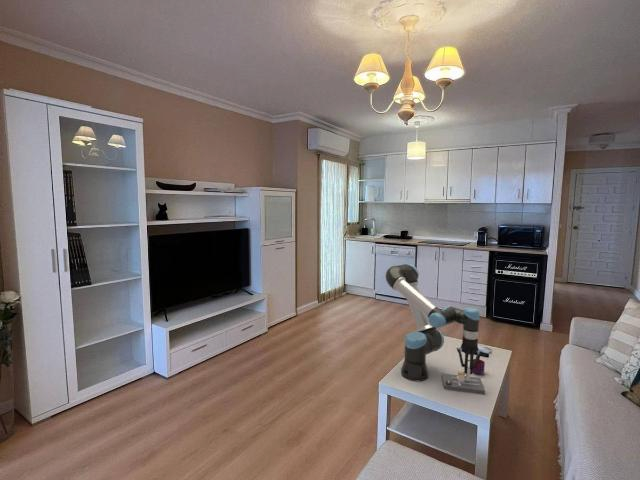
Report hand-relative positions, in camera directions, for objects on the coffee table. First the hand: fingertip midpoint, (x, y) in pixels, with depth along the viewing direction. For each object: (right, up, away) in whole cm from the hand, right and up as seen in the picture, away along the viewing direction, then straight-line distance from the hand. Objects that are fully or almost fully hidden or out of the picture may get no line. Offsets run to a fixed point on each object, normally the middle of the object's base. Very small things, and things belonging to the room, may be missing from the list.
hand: (467, 379), depth 187 cm
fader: (-3, -1, +1) cm, 4 cm away
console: (-3, -3, +1) cm, 4 cm away
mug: (+11, -2, +16) cm, 19 cm away
